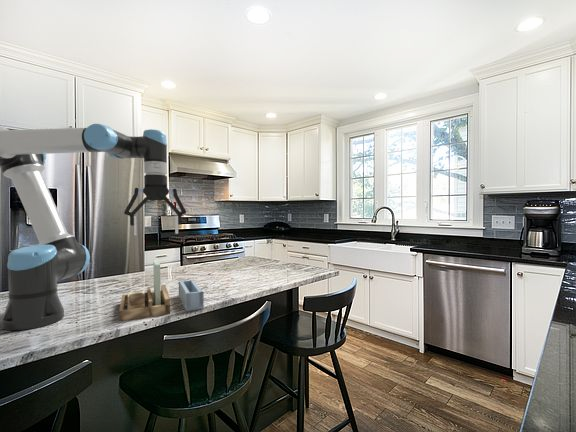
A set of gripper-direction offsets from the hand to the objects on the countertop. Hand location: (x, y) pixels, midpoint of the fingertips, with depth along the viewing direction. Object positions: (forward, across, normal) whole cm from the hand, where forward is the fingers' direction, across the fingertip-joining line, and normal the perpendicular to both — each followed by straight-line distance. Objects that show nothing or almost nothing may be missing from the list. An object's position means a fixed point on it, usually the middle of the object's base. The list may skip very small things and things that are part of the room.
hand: (156, 234), depth 110 cm
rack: (+26, -4, 0) cm, 26 cm away
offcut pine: (+26, -7, +4) cm, 27 cm away
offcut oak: (+26, -7, -6) cm, 28 cm away
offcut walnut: (+22, -7, -6) cm, 24 cm away
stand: (+26, +11, 0) cm, 28 cm away
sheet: (+26, 0, 0) cm, 26 cm away
